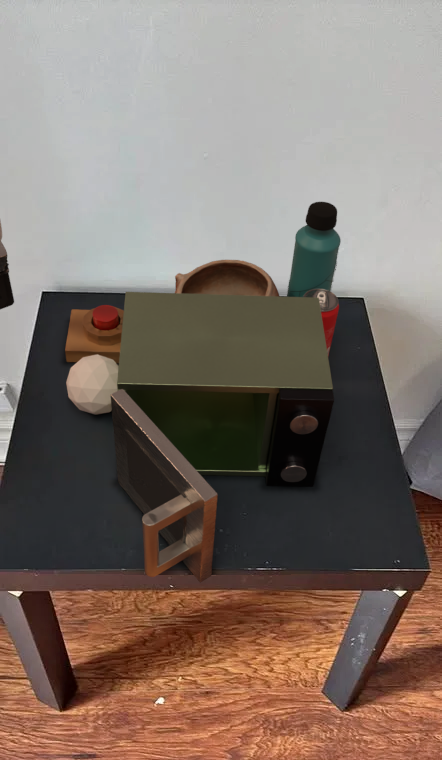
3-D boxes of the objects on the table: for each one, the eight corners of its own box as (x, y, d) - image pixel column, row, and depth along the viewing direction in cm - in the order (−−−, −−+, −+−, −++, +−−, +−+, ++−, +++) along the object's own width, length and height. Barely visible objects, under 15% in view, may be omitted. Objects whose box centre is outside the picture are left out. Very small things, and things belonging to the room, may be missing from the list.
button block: (144, 364, 107) (143, 342, 104) (66, 362, 107) (63, 340, 104) (146, 322, 113) (145, 301, 110) (73, 320, 112) (70, 299, 109)
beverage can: (288, 375, 108) (299, 308, 98) (292, 351, 111) (303, 284, 101) (323, 381, 107) (338, 314, 98) (327, 356, 110) (341, 290, 101)
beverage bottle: (292, 344, 112) (312, 226, 96) (274, 317, 115) (290, 198, 100) (331, 335, 113) (357, 217, 98) (312, 308, 117) (333, 191, 101)
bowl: (166, 306, 115) (165, 251, 108) (265, 301, 118) (272, 246, 110) (178, 377, 106) (179, 322, 98) (286, 370, 108) (295, 315, 100)
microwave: (313, 492, 95) (335, 404, 82) (122, 489, 93) (115, 399, 81) (301, 388, 106) (318, 297, 93) (131, 384, 105) (125, 291, 92)
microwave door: (161, 606, 83) (159, 526, 71) (80, 501, 92) (67, 413, 79) (211, 576, 86) (218, 493, 74) (128, 477, 94) (122, 388, 82)
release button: (117, 331, 106) (117, 321, 105) (92, 330, 106) (91, 320, 104) (119, 314, 108) (118, 305, 107) (94, 314, 108) (93, 304, 107)
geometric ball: (89, 427, 103) (49, 405, 97) (96, 374, 105) (58, 349, 99) (134, 419, 99) (96, 396, 93) (140, 365, 102) (103, 338, 95)
